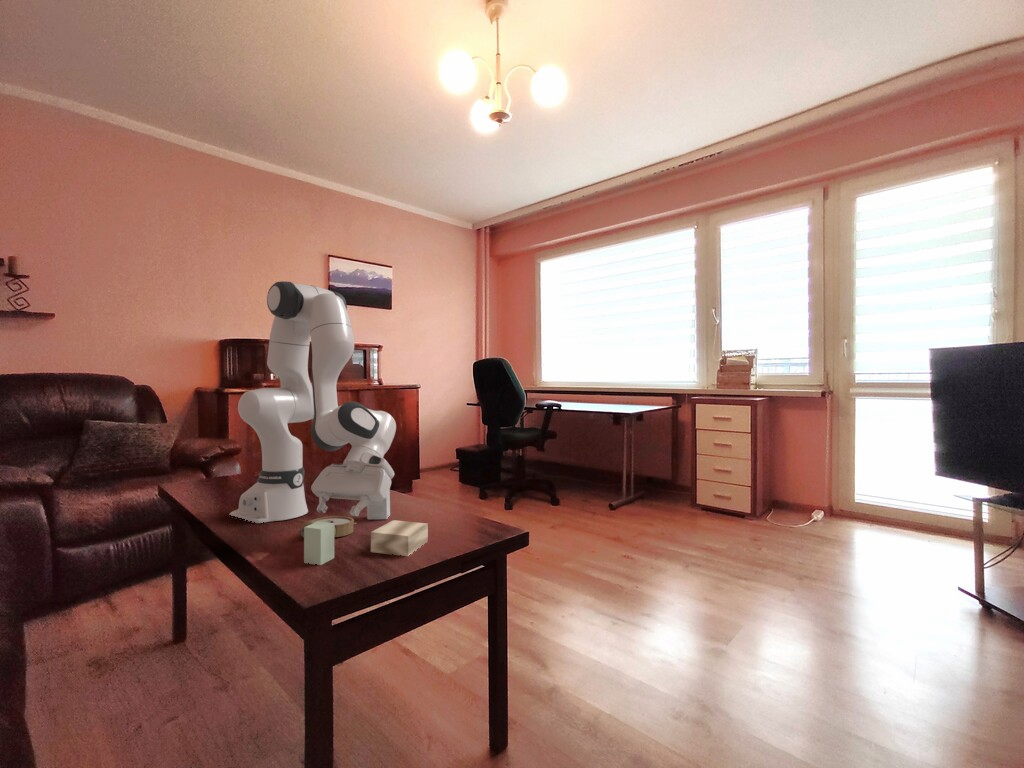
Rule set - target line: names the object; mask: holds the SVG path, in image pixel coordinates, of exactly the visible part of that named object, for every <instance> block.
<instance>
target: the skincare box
mask: <svg viewBox="0 0 1024 768" xmlns="http://www.w3.org/2000/svg"><path fill="white" fill-rule="evenodd" d="M390 489H391V488H390ZM390 489H389V492H388V494H387V496H386V498H385V499H384V500H383V501H381V502H376V501H370V502H369V504H368V505H367V506H366V519H367V520H370V521H371V520H387V519H389V518H390V517H391V497H390V496H391V494H390V493H391V492H390V491H391V490H390ZM389 516H390V517H389ZM388 517H389V518H388Z"/></svg>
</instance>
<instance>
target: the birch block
mask: <svg viewBox="0 0 1024 768" xmlns="http://www.w3.org/2000/svg"><path fill="white" fill-rule="evenodd" d="M428 533H429V523H427V522H426V523H424V522H415V521H406V520H405V521H404V520H395V519H392V520H390V521H388V522H387V523H385V524H384V525H382V526H380V527H378V528H376V529H374V530H372V531H371V532H370V552H371V553H377V554H385V555H392V554H393V555H395V556H400V555H401V556H400V557H409V555H410V554H411V555H413V554H414V553H415V552H416V551H418V550H419V549H420V548H422V547H423V546H425V545H424V544H425V543H426V544H427V543H428V542H429V534H428ZM422 545H423V546H422ZM421 546H422V547H421ZM418 548H419V549H418ZM417 549H418V550H417ZM414 551H415V552H414ZM413 552H414V553H413ZM411 555H410V556H411Z"/></svg>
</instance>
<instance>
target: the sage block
mask: <svg viewBox="0 0 1024 768" xmlns="http://www.w3.org/2000/svg"><path fill="white" fill-rule="evenodd" d="M334 532H335V523H328V522H319V521H318V522H316V523H313V524H311V525H309V526H306V527H304V538H303V563H304V564H308V563H309V565H315V564H317V565H316V566H322V565H324V564H326V563H328V562H329V561H331V560H333V559H335V537H334Z"/></svg>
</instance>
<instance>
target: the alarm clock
mask: <svg viewBox="0 0 1024 768" xmlns="http://www.w3.org/2000/svg"><path fill="white" fill-rule="evenodd" d="M318 521H319V522H328V523H335V532H334V538H339V537H340V538H341V537H345V536H348V535H350V534H352V533H353V532H354V525H357V524H358V522H355V520H354V518H353V517H348V516H339V515H338V516H337V515H336V516H335V515H333V516H323V517H319V518H314V519H310V520H305V521H304V522H303V523H302V525H301V528H300V529H299V530H298V532H299V533H300V536H301V537H302V538H303V539H304V527H306V526H309V525H311V524H313V523H316V522H318Z"/></svg>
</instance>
